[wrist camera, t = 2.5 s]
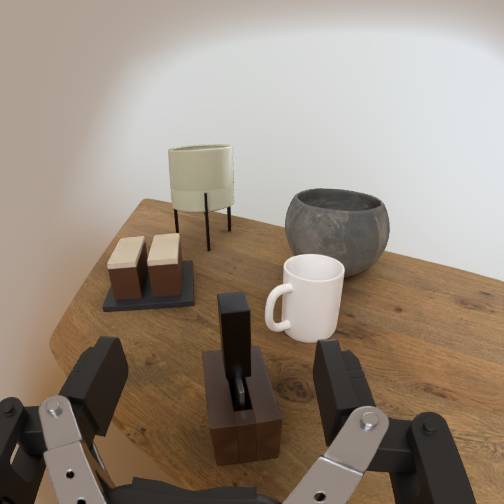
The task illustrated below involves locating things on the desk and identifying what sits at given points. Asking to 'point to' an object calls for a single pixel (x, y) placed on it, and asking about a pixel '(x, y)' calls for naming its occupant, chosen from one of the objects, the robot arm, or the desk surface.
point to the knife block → (241, 412)
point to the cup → (308, 298)
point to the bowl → (338, 227)
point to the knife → (235, 341)
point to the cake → (149, 275)
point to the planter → (202, 180)
